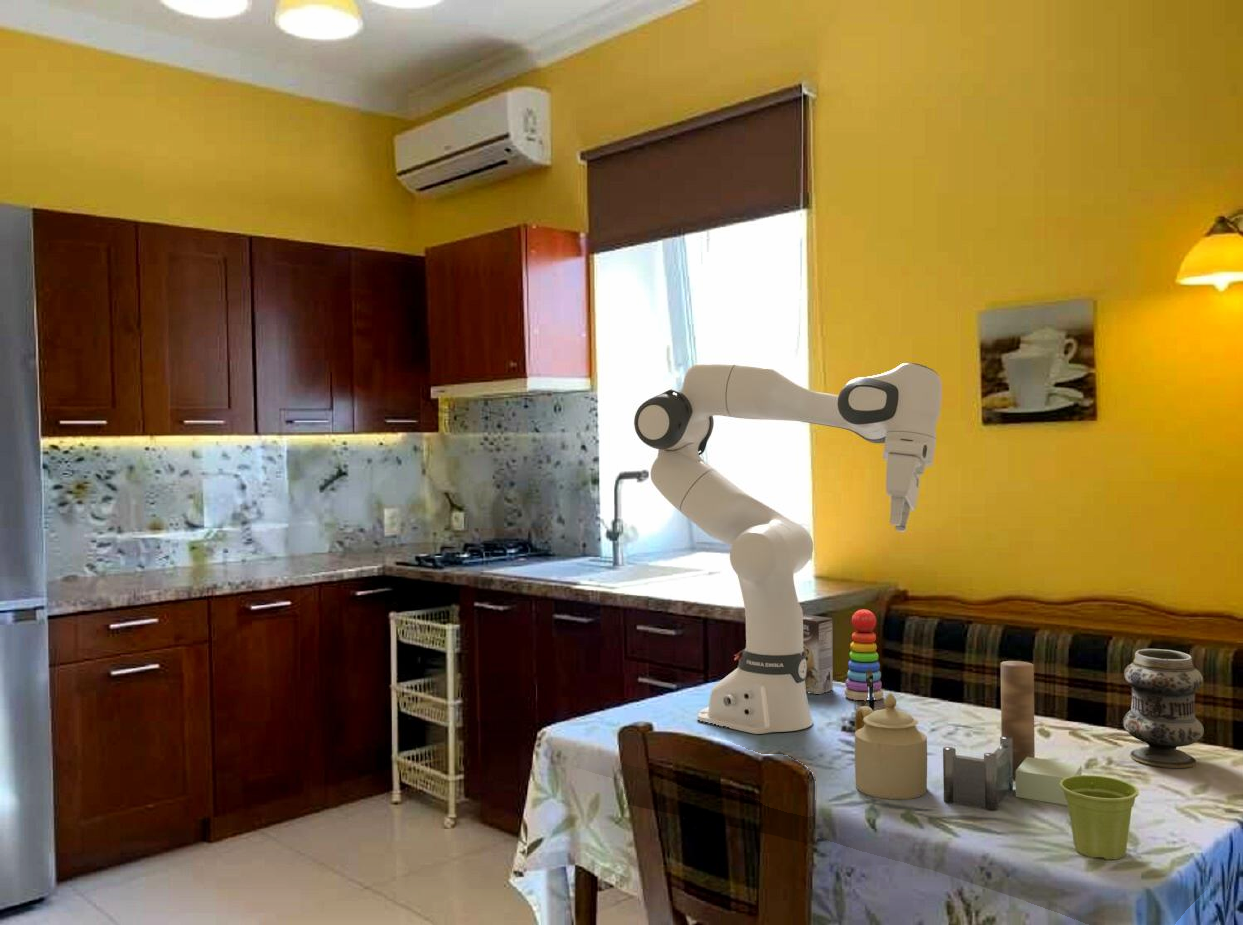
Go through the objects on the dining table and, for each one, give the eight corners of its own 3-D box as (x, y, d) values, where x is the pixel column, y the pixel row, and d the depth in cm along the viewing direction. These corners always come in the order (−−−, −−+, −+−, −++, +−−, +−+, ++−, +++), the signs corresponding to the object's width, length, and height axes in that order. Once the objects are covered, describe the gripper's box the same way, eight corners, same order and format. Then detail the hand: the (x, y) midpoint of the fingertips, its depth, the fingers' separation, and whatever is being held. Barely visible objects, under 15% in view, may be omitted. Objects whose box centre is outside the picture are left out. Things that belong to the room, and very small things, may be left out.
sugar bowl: (821, 782, 165) (819, 689, 165) (861, 767, 172) (860, 677, 172) (902, 805, 154) (900, 705, 154) (941, 788, 161) (940, 692, 161)
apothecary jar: (1204, 775, 165) (1203, 663, 165) (1121, 764, 171) (1119, 657, 171) (1203, 754, 175) (1202, 649, 175) (1125, 745, 181) (1124, 644, 181)
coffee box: (782, 689, 227) (781, 616, 227) (799, 684, 232) (797, 612, 231) (818, 695, 221) (817, 620, 221) (834, 690, 226) (833, 616, 225)
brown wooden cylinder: (998, 776, 166) (997, 665, 166) (1005, 768, 170) (1004, 659, 170) (1031, 781, 163) (1029, 668, 163) (1037, 772, 168) (1036, 662, 167)
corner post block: (942, 802, 155) (941, 749, 155) (963, 779, 165) (962, 730, 165) (995, 811, 151) (995, 757, 150) (1014, 788, 160) (1013, 737, 160)
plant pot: (1103, 871, 129) (1102, 802, 129) (1045, 845, 138) (1044, 781, 138) (1156, 858, 133) (1155, 791, 133) (1096, 833, 142) (1095, 770, 142)
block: (1015, 796, 157) (1015, 770, 156) (1027, 781, 163) (1026, 756, 163) (1072, 806, 152) (1072, 779, 152) (1081, 790, 159) (1081, 764, 159)
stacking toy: (884, 703, 214) (883, 613, 213) (844, 701, 215) (843, 612, 215) (882, 693, 221) (881, 607, 221) (844, 692, 223) (843, 606, 223)
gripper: (896, 460, 196) (885, 532, 194) (884, 439, 177) (873, 518, 176) (930, 464, 194) (920, 537, 192) (922, 444, 175) (910, 523, 173)
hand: (897, 528), depth 184 cm, fingers open, 8 cm apart
